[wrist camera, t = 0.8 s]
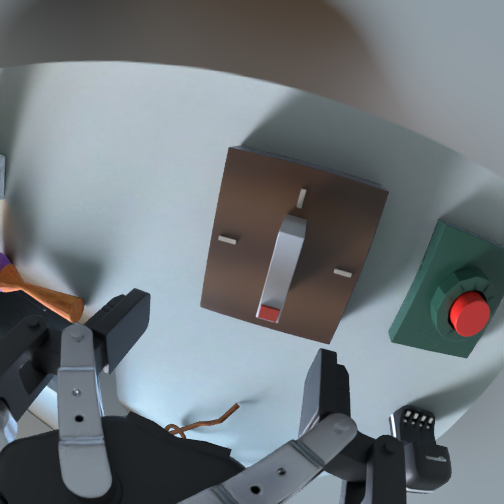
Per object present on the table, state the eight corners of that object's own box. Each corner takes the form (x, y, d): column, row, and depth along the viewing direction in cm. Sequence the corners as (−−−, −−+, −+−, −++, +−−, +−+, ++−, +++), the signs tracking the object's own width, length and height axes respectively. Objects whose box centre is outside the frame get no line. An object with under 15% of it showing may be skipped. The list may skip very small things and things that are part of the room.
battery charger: (442, 409, 30) (459, 480, 20) (423, 426, 32) (434, 495, 22) (405, 398, 30) (418, 477, 20) (386, 415, 32) (393, 492, 22)
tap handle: (285, 213, 23) (278, 231, 19) (307, 219, 22) (304, 239, 18) (265, 289, 25) (254, 319, 21) (284, 294, 25) (277, 325, 21)
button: (460, 286, 22) (468, 296, 20) (488, 295, 21) (496, 305, 20) (442, 321, 23) (448, 332, 21) (470, 328, 23) (477, 339, 21)
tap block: (238, 145, 24) (227, 147, 22) (381, 185, 23) (389, 192, 20) (209, 291, 30) (198, 308, 27) (329, 325, 29) (329, 346, 26)
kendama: (70, 342, 33) (-20, 292, 33) (92, 310, 38) (1, 270, 38) (59, 309, 29) (-33, 261, 30) (85, 277, 34) (-8, 240, 35)
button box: (438, 218, 23) (453, 231, 20) (513, 250, 22) (531, 265, 19) (388, 331, 28) (394, 354, 25) (462, 349, 27) (472, 369, 24)
